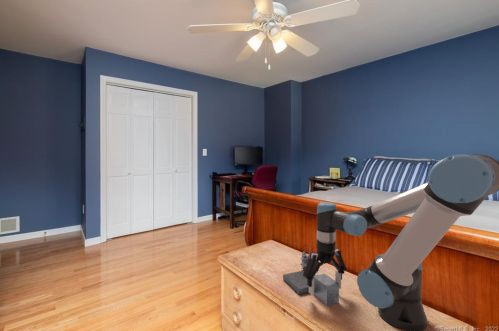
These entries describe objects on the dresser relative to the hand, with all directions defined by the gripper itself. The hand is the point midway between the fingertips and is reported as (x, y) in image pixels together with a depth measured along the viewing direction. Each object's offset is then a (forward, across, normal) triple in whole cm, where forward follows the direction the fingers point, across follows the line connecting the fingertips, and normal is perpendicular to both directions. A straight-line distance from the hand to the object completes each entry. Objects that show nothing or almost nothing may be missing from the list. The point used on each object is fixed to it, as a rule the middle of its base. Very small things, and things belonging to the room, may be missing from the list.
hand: (325, 290), depth 102 cm
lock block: (+3, 0, 0) cm, 3 cm away
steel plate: (+3, +2, -13) cm, 13 cm away
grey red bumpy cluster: (+4, -11, -26) cm, 29 cm away
